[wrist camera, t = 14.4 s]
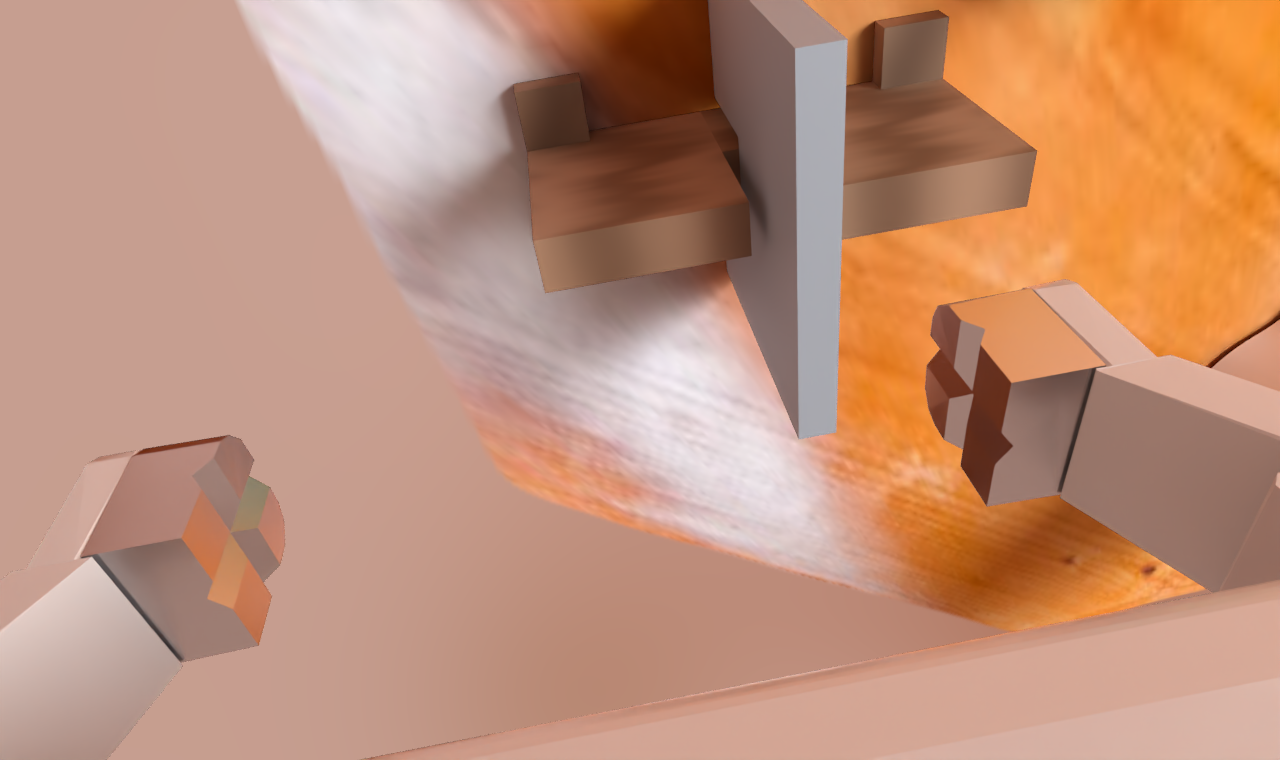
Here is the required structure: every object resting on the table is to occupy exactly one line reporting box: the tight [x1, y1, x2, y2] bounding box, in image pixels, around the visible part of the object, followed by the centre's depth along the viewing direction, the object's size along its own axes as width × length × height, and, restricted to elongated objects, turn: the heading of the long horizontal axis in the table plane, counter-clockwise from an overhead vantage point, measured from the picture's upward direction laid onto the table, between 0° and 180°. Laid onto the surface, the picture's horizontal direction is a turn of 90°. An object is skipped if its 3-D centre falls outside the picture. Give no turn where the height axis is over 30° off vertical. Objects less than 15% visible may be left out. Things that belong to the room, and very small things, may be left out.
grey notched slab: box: [708, 0, 847, 439], centre depth 35 cm, size 16×2×14 cm, turn 7°
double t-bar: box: [514, 10, 1037, 293], centre depth 37 cm, size 20×8×10 cm, turn 97°
